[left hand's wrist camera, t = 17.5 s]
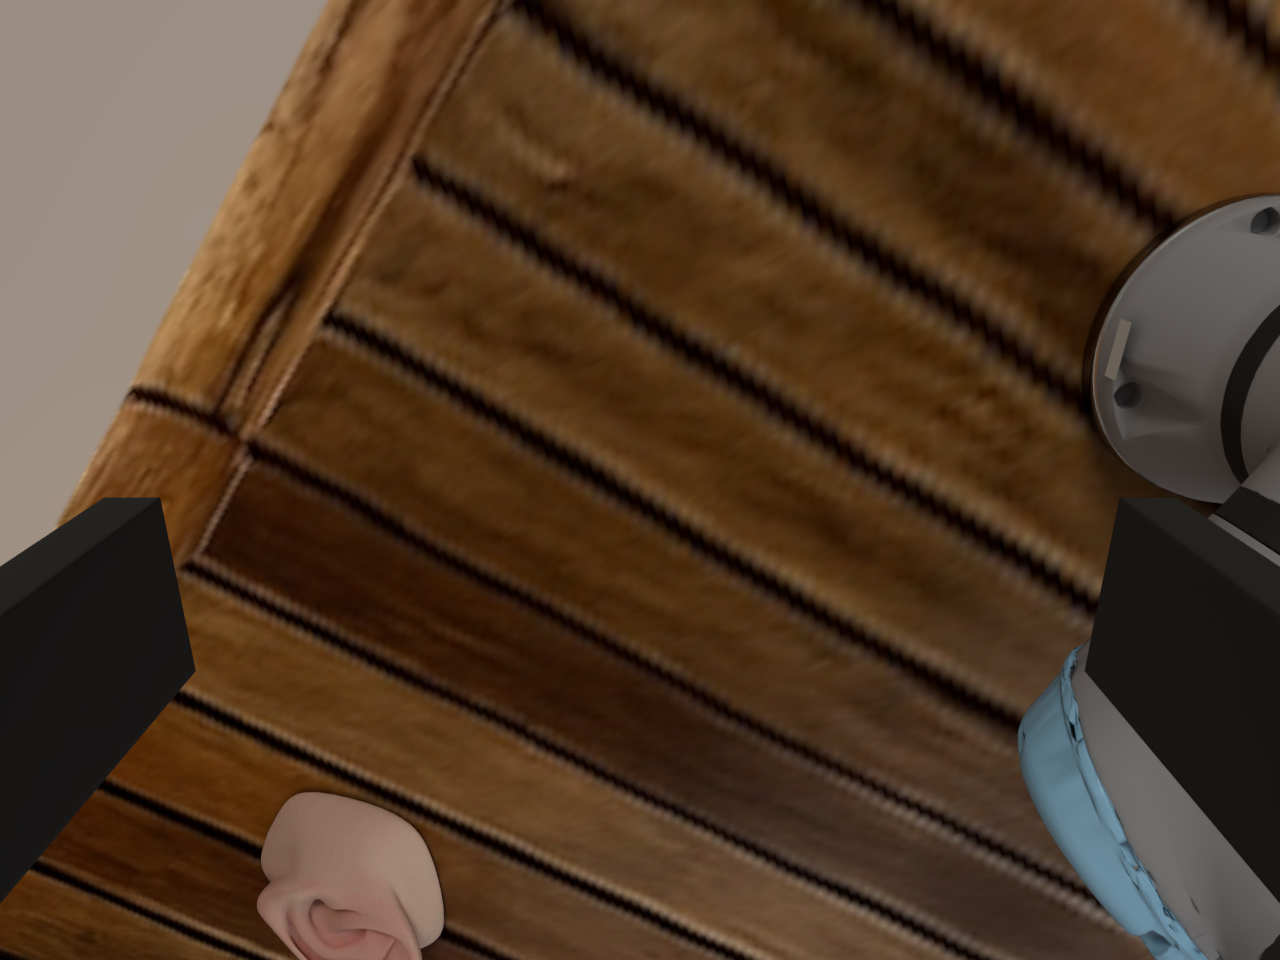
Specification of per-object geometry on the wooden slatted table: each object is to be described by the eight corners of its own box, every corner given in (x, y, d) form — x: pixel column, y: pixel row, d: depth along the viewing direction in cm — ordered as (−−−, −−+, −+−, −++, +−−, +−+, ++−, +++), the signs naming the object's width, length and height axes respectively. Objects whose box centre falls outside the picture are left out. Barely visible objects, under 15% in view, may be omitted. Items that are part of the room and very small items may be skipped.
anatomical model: (225, 834, 51) (426, 843, 51) (253, 787, 55) (440, 795, 55) (249, 1002, 56) (432, 1009, 56) (273, 949, 60) (445, 955, 60)
